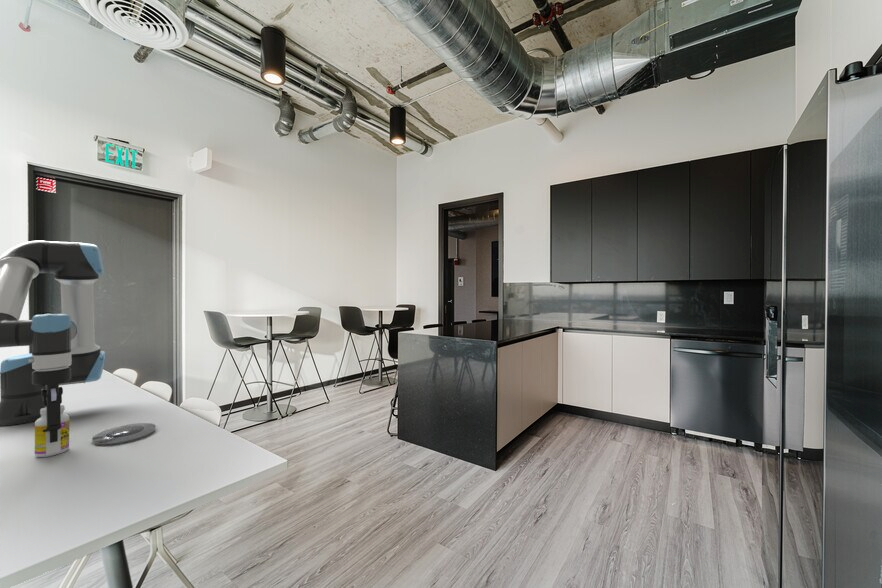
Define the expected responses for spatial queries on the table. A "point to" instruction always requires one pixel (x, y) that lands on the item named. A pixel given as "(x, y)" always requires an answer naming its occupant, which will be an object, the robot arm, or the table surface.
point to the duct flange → (123, 434)
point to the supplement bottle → (41, 436)
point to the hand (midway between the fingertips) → (52, 449)
